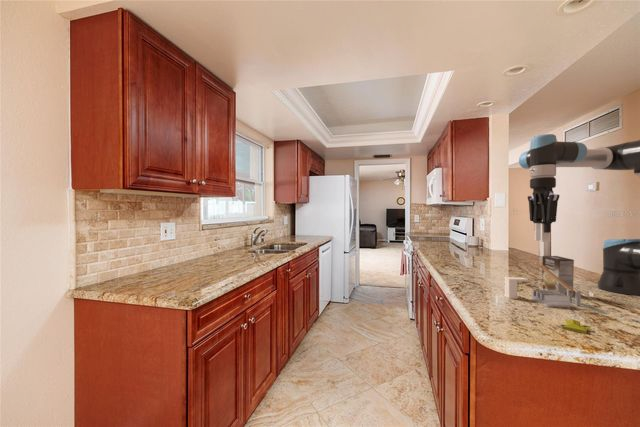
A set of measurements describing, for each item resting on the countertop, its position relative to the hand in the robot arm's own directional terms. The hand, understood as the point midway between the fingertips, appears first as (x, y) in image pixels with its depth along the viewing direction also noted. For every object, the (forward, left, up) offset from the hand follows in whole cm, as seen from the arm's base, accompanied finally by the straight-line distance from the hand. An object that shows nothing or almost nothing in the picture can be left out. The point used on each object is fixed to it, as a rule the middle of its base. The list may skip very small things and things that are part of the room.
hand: (542, 240), depth 104 cm
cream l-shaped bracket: (+6, -6, -23) cm, 25 cm away
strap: (-5, 0, -14) cm, 15 cm away
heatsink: (-3, 0, -23) cm, 24 cm away
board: (-3, 0, -25) cm, 25 cm away
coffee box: (-16, -15, -25) cm, 33 cm away
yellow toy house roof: (+3, +19, -26) cm, 32 cm away
